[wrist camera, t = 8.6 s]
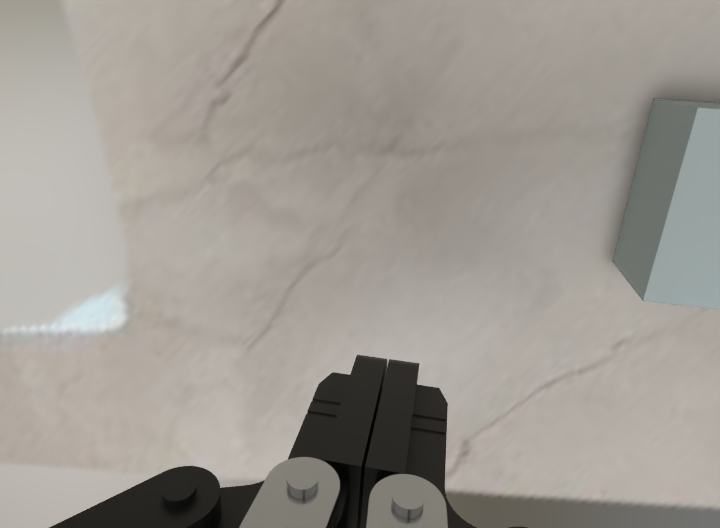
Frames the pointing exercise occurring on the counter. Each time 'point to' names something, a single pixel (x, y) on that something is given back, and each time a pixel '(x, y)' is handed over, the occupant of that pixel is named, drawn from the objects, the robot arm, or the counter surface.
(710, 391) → the counter surface
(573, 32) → the counter surface
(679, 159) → the grey block
